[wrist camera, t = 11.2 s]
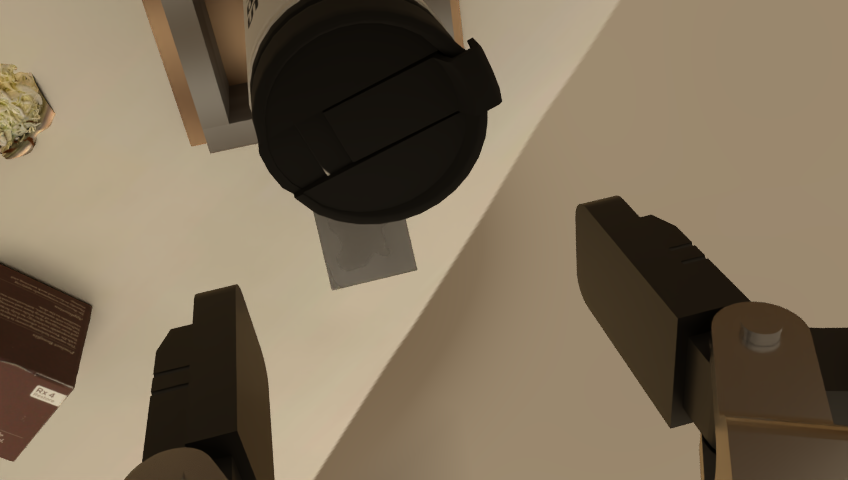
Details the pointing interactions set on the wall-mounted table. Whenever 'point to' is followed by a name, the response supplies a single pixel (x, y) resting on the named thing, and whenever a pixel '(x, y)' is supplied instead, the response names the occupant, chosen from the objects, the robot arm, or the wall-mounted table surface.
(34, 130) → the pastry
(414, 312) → the wall-mounted table surface
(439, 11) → the grey walled square tray
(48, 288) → the box
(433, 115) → the travel mug
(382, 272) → the grey rectangular block
